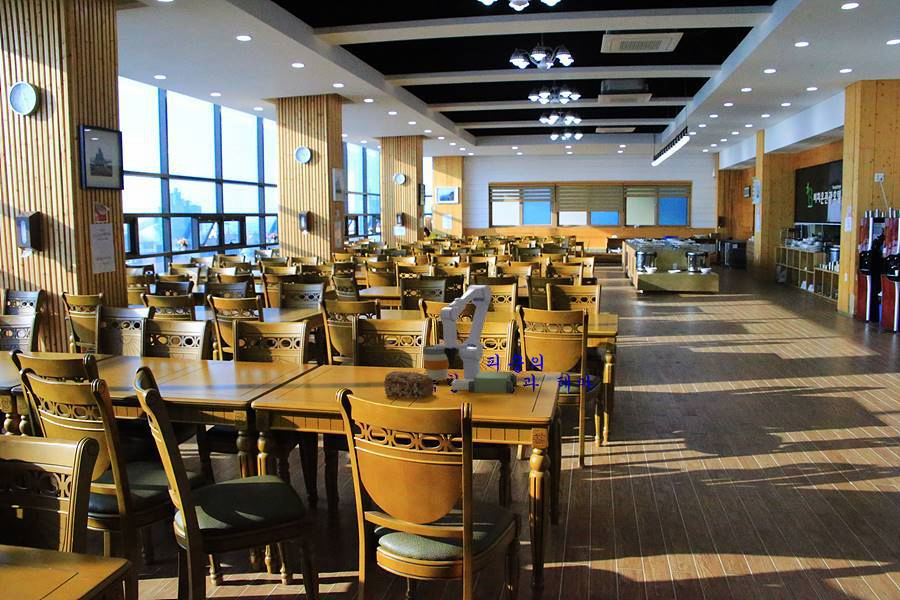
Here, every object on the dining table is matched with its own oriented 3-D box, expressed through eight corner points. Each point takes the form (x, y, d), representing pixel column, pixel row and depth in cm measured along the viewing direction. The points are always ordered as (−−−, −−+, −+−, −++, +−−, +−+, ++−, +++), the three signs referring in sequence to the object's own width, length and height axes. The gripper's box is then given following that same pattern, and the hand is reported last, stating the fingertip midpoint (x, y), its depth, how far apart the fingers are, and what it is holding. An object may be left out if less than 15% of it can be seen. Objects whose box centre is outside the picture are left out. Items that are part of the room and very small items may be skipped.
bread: (384, 396, 322) (383, 373, 321) (398, 391, 331) (397, 368, 330) (421, 400, 313) (420, 376, 312) (435, 394, 322) (434, 371, 321)
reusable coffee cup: (452, 375, 361) (450, 344, 359) (449, 381, 348) (448, 348, 347) (425, 376, 362) (424, 344, 360) (422, 381, 349) (420, 349, 348)
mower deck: (476, 384, 338) (476, 371, 338) (517, 384, 334) (516, 371, 334) (468, 393, 321) (468, 379, 321) (511, 393, 317) (510, 379, 317)
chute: (455, 386, 335) (455, 379, 335) (477, 386, 333) (477, 379, 333) (451, 389, 328) (451, 382, 328) (474, 389, 326) (474, 382, 326)
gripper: (431, 336, 332) (433, 367, 333) (464, 335, 328) (465, 367, 330) (435, 333, 339) (437, 364, 340) (467, 333, 335) (469, 364, 336)
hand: (451, 365), depth 335 cm, fingers closed
